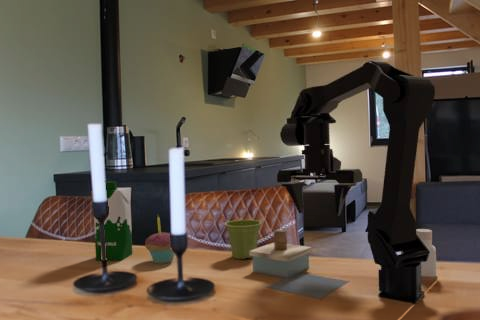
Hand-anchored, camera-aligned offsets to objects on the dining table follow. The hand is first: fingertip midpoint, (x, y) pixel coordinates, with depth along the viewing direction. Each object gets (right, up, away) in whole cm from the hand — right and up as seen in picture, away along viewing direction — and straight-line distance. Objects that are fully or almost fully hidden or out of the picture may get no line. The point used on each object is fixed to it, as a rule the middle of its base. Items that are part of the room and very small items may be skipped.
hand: (319, 214), depth 99 cm
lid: (-9, -9, -1) cm, 12 cm away
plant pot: (-17, -13, +13) cm, 25 cm away
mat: (-4, -13, -12) cm, 18 cm away
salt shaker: (+21, -12, -7) cm, 25 cm away
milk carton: (-51, -14, +16) cm, 55 cm away
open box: (-9, -13, -1) cm, 15 cm away
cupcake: (-37, -13, +11) cm, 41 cm away
